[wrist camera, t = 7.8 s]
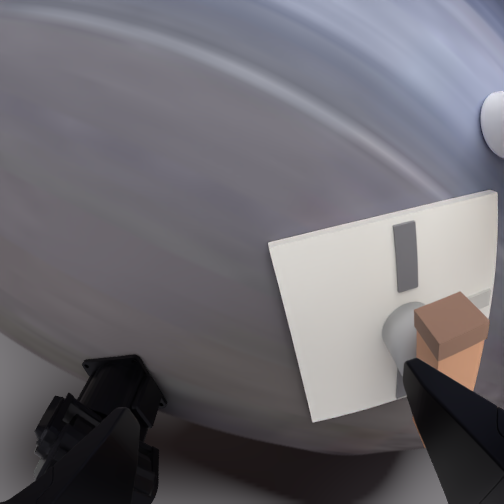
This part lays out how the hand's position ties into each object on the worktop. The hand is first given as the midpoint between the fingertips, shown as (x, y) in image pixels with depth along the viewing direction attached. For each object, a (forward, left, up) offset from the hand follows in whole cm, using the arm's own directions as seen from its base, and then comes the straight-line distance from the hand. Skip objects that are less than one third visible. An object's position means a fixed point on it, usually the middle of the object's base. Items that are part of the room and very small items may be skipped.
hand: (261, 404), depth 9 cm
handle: (+10, -8, -8) cm, 15 cm away
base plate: (+10, -9, -13) cm, 18 cm away
